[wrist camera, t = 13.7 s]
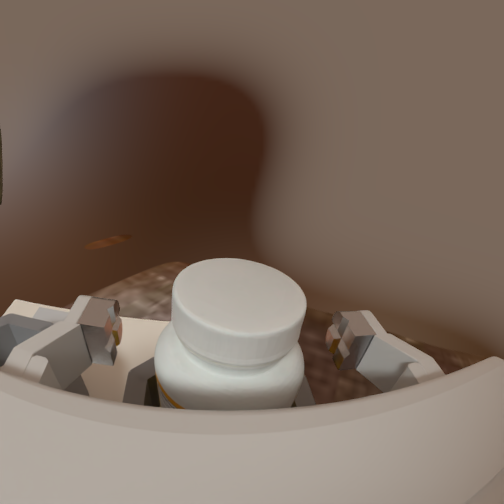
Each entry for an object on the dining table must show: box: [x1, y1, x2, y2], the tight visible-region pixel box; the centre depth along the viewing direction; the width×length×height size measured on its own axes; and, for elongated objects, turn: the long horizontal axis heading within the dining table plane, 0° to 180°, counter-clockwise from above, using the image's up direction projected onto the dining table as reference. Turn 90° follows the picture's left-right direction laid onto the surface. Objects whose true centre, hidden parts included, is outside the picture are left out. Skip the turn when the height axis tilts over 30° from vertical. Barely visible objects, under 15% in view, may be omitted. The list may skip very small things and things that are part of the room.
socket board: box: [0, 299, 316, 408], centre depth 12 cm, size 24×16×4 cm, turn 98°
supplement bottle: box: [154, 258, 307, 411], centre depth 10 cm, size 5×5×10 cm
